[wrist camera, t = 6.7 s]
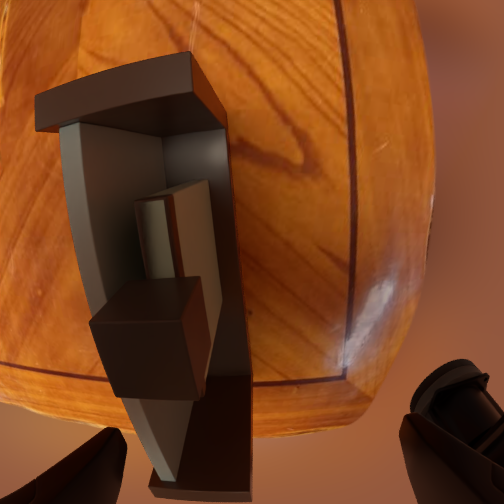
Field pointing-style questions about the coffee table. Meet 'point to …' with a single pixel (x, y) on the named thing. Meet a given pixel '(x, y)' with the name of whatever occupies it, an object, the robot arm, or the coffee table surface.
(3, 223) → the coffee table surface
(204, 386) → the pane
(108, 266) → the window frame
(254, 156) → the coffee table surface
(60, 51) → the coffee table surface
